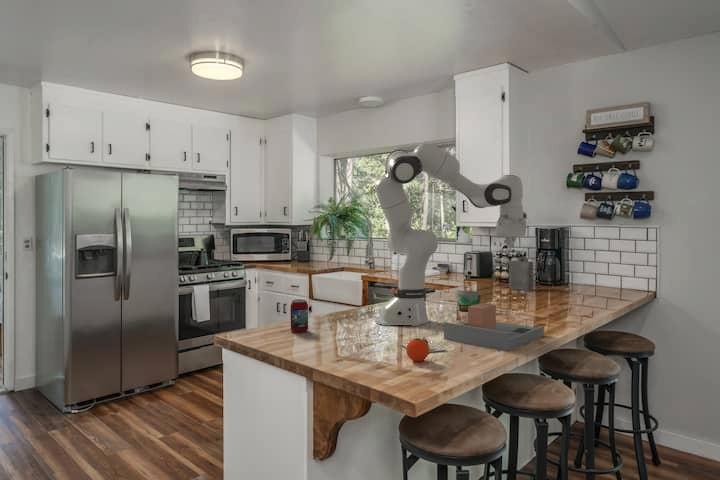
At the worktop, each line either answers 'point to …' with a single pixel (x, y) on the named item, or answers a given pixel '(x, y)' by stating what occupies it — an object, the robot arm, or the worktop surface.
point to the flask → (521, 275)
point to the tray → (493, 335)
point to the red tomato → (417, 349)
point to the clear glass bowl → (430, 343)
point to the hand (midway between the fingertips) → (510, 248)
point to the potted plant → (467, 299)
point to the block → (482, 316)
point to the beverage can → (299, 316)
